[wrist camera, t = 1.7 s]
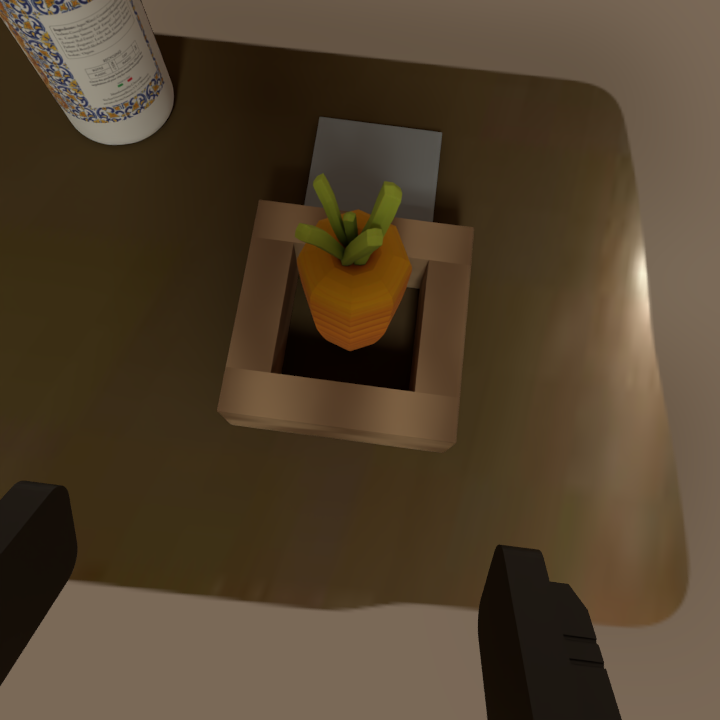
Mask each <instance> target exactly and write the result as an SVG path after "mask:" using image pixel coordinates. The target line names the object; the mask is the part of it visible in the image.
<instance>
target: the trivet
mask: <svg viewBox="0 0 720 720" xmlns="http://www.w3.org/2000/svg"><path fill="white" fill-rule="evenodd" d="M441 139H442V132H435V131H427V130H419V129H411V128H404V127H396V126H388V125H380V124H373V123H365V122H357V121H349V120H342V119H334V118H326V117H320V118H319V124H318V129H317V135H316V141H315V146H314V152H313V158H312V164H311V169H310V175H309V181H308V186H307V192H306V198H305V203H304V206H312V207H319V208H323V205H322V203H321V201H320V199H319V197H318V195H317V193H316V191H315V189H314V187H313V181H314V180H315V178H316V177H317V176H318V175H320V174H322V173H324V175H325V177H326V178H327V180H328V182H329V184H330V186H331V188H332V190H333V192H334V195H335V198H336V201H337V204H338V207H339V210H342V211H354V210H357V209H359V210H361V211H363V212H366V213H368V214H371V213H372V210H373V207H374V205H375V202H376V199H377V197H378V194H379V192H380V190H381V188H382V185H383V183H384V181H387V182H393V183H395V184H396V185H397V186H399V187H400V188H401V191H402V199H401V203H400V205H399V207H398V210H397V212H396V214H395V217H396V218H404V219H412V220H419V221H427V222H433V214H434V205H435V195H436V186H437V176H438V167H439V158H440V148H441Z"/></svg>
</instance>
